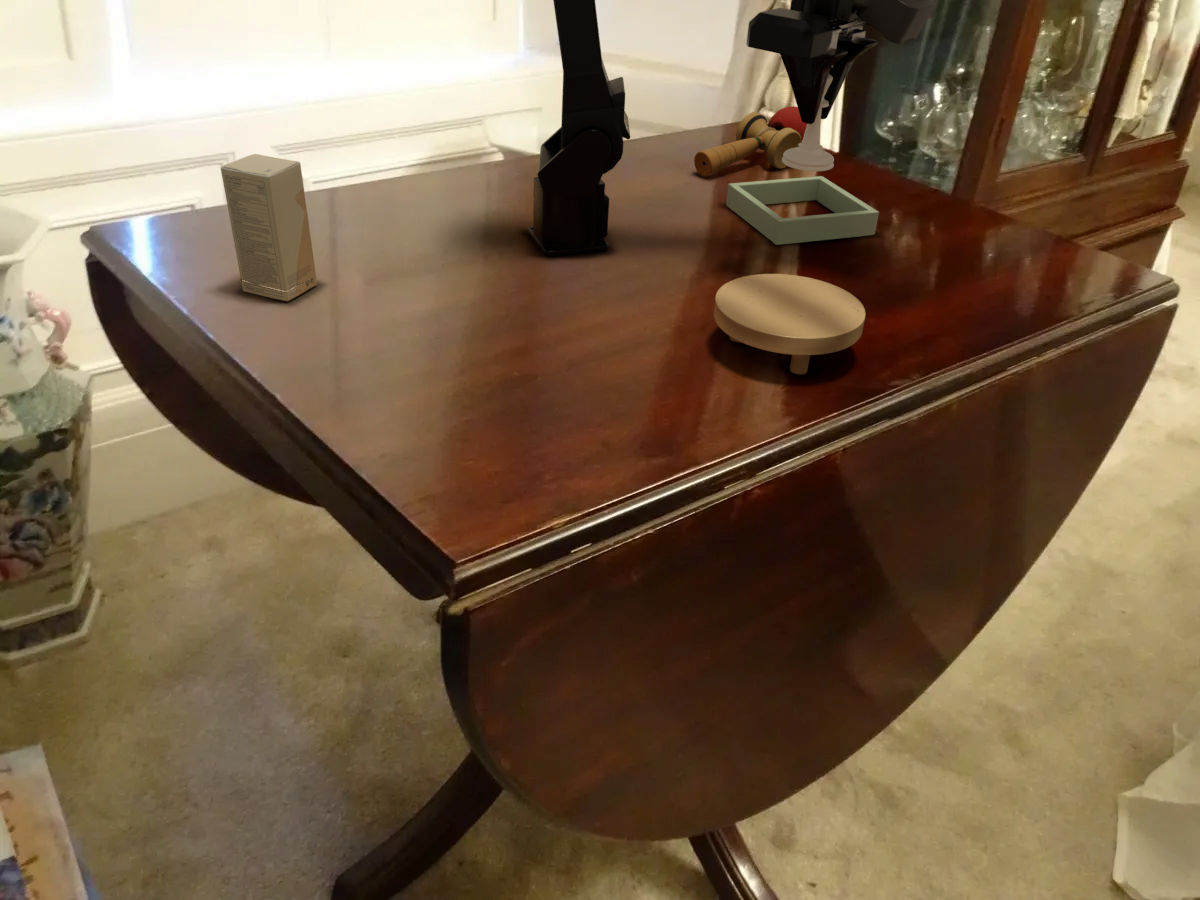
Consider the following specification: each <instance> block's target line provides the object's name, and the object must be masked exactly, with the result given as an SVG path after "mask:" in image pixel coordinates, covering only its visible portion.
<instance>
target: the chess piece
mask: <svg viewBox="0 0 1200 900" xmlns="http://www.w3.org/2000/svg"><path fill="white" fill-rule="evenodd" d="M832 67H833V65H832ZM832 80H833V77H832V76H831V75H830V74H828V78H827V81H826V85H825V89H824V92H823V96H822V99H821V103H820V107H819V110H818V113H817V116H816V119H815V122H814V123H813V124H807V127H806V130H805V134H804V137H803V140H802V143H799V144H798V146H799V147H795V148H791V149H788V150H786V151H785V152H784V154H783V158H782V162H783V163H784V164H785V165H787V167H788V168H791V169H794V170H799V171H803V172H825V171H829V170H832V169H833V168H834V166H835V163H834V162H835V158H834V156H833V155H832V154H831V153H830V152H828V151H825V150H824V149H823V148H824V146H823V145H821V125H822V119H821V111H822V108H824V107H828V106H829V104H828V103H829V102H828V101H827V100H824V96H825V94H826V92H827V90H828V88H829V86H830V84H831V82H832Z"/></svg>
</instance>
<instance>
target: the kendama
mask: <svg viewBox="0 0 1200 900" xmlns="http://www.w3.org/2000/svg"><path fill="white" fill-rule="evenodd" d="M806 127H807V123H803V122H802V120H801V117H800V113H799V110H798V107H797V106H793V105H791V106H786V107H785V106H784V107H783V108H781V109H779V110H777V111H776V112H775V113H774V114H773V115H772V116H771V117H770V118H769V121H768V118H766V116H765V115H764V114H762V113H760V112H757V111H752V112H750V113H748V114H747V115H745V116H744V117H743V118H742V119H741V121H740V123H739V124H738V126H737V128H736V133H735V139H736V140H735V141H731V142H728V143H724V144H721V145H718V146H714V147H710V148H707V149H704V150H700V151H697V152H696V154H695V155H694V159H693V163H694V168H695V171H696V172H697V173H698V174H699V176H701V177H704V178H708V177H709V176H712V175H714V174H716V173H717V172H719V171H721V170H723V169H725V168H727V167H728V166H731V165H733V164H734V163H737V162H739V161H741V160H743V159H745V158H746V157H748V156H749V155H751V154H753V153H754V152H757V151H758V150H761V151H765V153H766V161H767V163H768V164H769V165H770V166H772V167H774V168H775V169H778V170H783V169H786V168H787V167H788V166H787V165H785V164H784V163H783V162H782V158H783V154H784V152H785V151H786V150H788V149H791V148H795V147H799V146H798V144H799V143H802V140H803V137H804V134H805V130H806Z"/></svg>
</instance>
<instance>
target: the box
mask: <svg viewBox="0 0 1200 900" xmlns="http://www.w3.org/2000/svg"><path fill="white" fill-rule="evenodd" d="M220 172H221V177H222V183H223V188H224V193H225V199H226V205H227V211H228V216H229V221H230V227H231V232H232V233H231V234H232V238H233V243H234V249H235V255H236V260H237V266H238V271H239V277H240V282H241V283H240V284H241V288H242V291H243V292H246V293H249V294H253V295H257V296H262V297H266V298H269V299H275V300H279V301H284V302H289V301H291V300H293V299H295V298H296V297H298V296H300V295H302V294H303V293H306V292H307V291H309V290H310V289H312V288H314V287H315V286H317V285H318V279H317V273H316V266H315V259H314V251H313V245H312V237H311V229H310V223H309V218H308V217H309V216H308V208H307V203H306V195H305V188H304V179H303V173H302V166H301V162H300V161H298V160H291V159H287V158H286V159H285V158H281V157H280V158H279V157H275V156H269V155H264V154H258V153H253V154H249V155H247V156H245V157H242V158H239V159H236V160H234V161H231V162H229V163H226V164H223V165H221V166H220ZM241 279H242V280H245V281H248V282H251V283H254V284H257V285H254V284H251V283H247V282H244V281H241ZM308 279H310V280H308ZM307 280H308V281H307ZM305 281H306V282H305ZM303 282H304V283H303ZM301 283H303V284H301ZM300 284H301V285H300ZM258 285H263V286H266V287H271V288H275V289H280V290H284V291H287V290H290V289H291V288H293V287H295V286H297V287H295V288H294V289H292V290H290V291H288V292H282V291H278V290H274V289H270V288H266V287H262V286H258ZM298 285H299V286H298Z"/></svg>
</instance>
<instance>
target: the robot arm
mask: <svg viewBox="0 0 1200 900" xmlns="http://www.w3.org/2000/svg"><path fill="white" fill-rule="evenodd" d="M938 2H939V0H791V1H790V7H789V8H784V7H777V8H773V9H767V10H764V11H759V12H758V13H757V14H756V15H755V16H754V17H753V18H751V20H749V21H748V27H747V34H746V43H745V44H746V46H747V47H748V48H752V49H755V50H761V51H766V52H771V53H775V54H779V55H780V58H781V61H782V64H783V66H784V68H785V71H786V74H787V77H788V80H789V83H790V86H791V90H792V93H793V96H794V100H795V103H796V107H798V110H799V113H800V117H801V120H802V122H803V123H807V124H813V123H814V122H815V119H816V116H817V113H818V110H819V107H820V103H821V99H822V96H823V92H824V89H825V85H826V81H827V78H828V74H830V75H831V76H832V77H833V80H832V82H831V84H830V86H829V88H828V90H827V92H826V94H825V96H824V100H827V101H828V102H829V103H828V104H829V106H828V107H824V108H822V111H821V120H825V119H827V118H828V116H829V115H830V112H831V110H832V108H833V106H834V103H835V101H836V99H837V98H838V95H839V92H840V91H841V88H842V87H843V84H844V82H845V80H846V78H847V76H848V74H849V72H850V70H851V68H852V66H853V65H854V62H855V61H856V60H857V59H858V58H859V57H860V56H862V55H863V54H865V53H866V52H868V51H869V50H871V49H872V48H874V47H876V46H877V45H878V43H879V41H878V40H876V39H873V38H866V34H867V33H866V32H867V30H866V29H863V28H864V25H866V26H871V27H872V28H873V29H874V30H876V31H878V32H879V33H881V36H882V38H884V39H885V40H887V41H889V42H890V43H893V44H896V45H901V44H903V43H904V42H905V41H907V40H912V41H913V40H916V39H917V37H918V36H919V34H920V33H921V30H922V29H923V27H924V25H925V23H926V22H927V20H929V19H932V18H934V17H935V16H936V13H937V10H936V5H937V4H938ZM596 4H597V3H596V0H553V8H554V16H555V23H556V28H557V29H556V30H557V37H558V45H559V50H560V52H559V53H560V58H561V65H562V99H561V100H562V101H561V127H559V128H558V129H557V130H555V132H554V133H553V134H552V135H550V136H549V138H546V140H545V141H544V142H543V143H542V144H541V145H540V148H539V149H540V150H539V159H538V168H537V176H534V177H533V202H532V203H533V204H532V205H533V209H532V210H533V212H532V213H533V214H532V216H533V217H532V219H533V220H532V221H533V222H532V226H529V227H527V234H528V235H529V236H530V237H531V239H532V240H533V242H534V243H536V245H537V246H538V247H539V248H540V250H541V252H542V253H543V254H544V255H545V256H558V255H569V254H579V253H589V252H590V253H591V252H599V251H607V250H609V243H608V242H607V240H606V239H604V238H607V237H608V231H609V229H608V228H609V212H610V211H609V210H610V197H609V196H608V195H607V194H605V193H606V182H604V181H603V179H602V178H603V175H605V174H607V173H609V172H610V171H612V170H613V169H615V167H616V166H617V164H618V163H619V162H620V161H621V159H622V158H623V153H624V139H626V140H630V139H631V131H630V123H629V122H630V121H629V117H628V114H627V112H626V111H625V107H626V89H625V82H624V78H623V77H624V76H620V77H619V76H618V77H617V78H613V79H609V75H608V72H607V69H606V66H605V63H604V60H603V56H602V47H601V39H600V29H599V22H598V14H597V13H598V11H597V5H596ZM832 65H833V67H832Z"/></svg>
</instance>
